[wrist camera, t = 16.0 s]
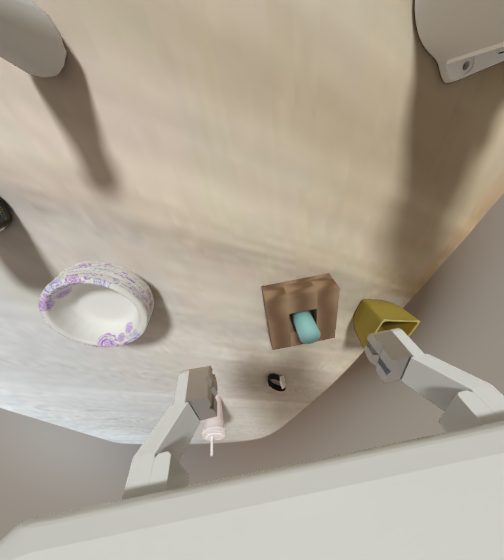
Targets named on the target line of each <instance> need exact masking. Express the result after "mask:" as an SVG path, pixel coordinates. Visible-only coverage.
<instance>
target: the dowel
mask: <svg viewBox="0 0 504 560" xmlns="http://www.w3.org/2000/svg"><path fill="white" fill-rule="evenodd" d="M290 315H291V317H292V320H293V323H294V325H295V328H296V331H297V333H298V336H299V338H300V341H301V342H302V343H304V344H311V343H314V342H316V341H317V340H318V339H319V338H320V336H321V333H320V331H319V329H318V327H317V325H316V323H315V321H314V319H313V317H312V315H311V313H310V311H309V310H308V311H303V312H298V313H293V314H290Z"/></svg>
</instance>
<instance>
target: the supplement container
mask: <svg viewBox="0 0 504 560" xmlns="http://www.w3.org/2000/svg"><path fill="white" fill-rule="evenodd" d="M11 220H12V216H11V212H10V209H9V207H8V206H7V204H6V203H5V202H4V201H3V200H2V199H1V198H0V231H2V230H4V229H6V228H7V227H8V226H9V225H10V223H11Z"/></svg>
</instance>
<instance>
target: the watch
mask: <svg viewBox="0 0 504 560" xmlns="http://www.w3.org/2000/svg"><path fill="white" fill-rule="evenodd" d="M271 379H276V380H278V381H279V382H280V385H281V386H280V385H276V384H274V383H272V382H271ZM268 384H269V386H271V387H272V388H273V389H275V390H277V391H285V385H286V384H285V378H284V377H283V376H279V375H277V374H270V375H269V376H268Z"/></svg>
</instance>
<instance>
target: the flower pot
mask: <svg viewBox="0 0 504 560" xmlns="http://www.w3.org/2000/svg"><path fill="white" fill-rule="evenodd" d="M419 323H420V321H419V320H418V319H416V318H415V317H414V316H412V315H411V314H409V313H408V312H407V311H405V310H404V309H403V308H401V307H399V306H398V305H395V304H393V303H390V302H387V301H383V300H369V299H363V300H362V301H361V303H360V305H359V307H358V309H357V310H356V312H355V314H354V329H355V332H356V334H357V336H358V338H359V340H360V342H361V344H362V346H363V348H364V350H365V346H366V344H367V343H368V342H369V341H368V339H367V337H368V335H369V334H371V333H376V332H380V331H385V330H391V329H396V328H400V329H402V330H403V331H404V332H405V333H406V335H407V336H408V337H409V336H410V335H411V333H412V332H413V331H414V330H415V328H416V327H417V326H418V324H419Z"/></svg>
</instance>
